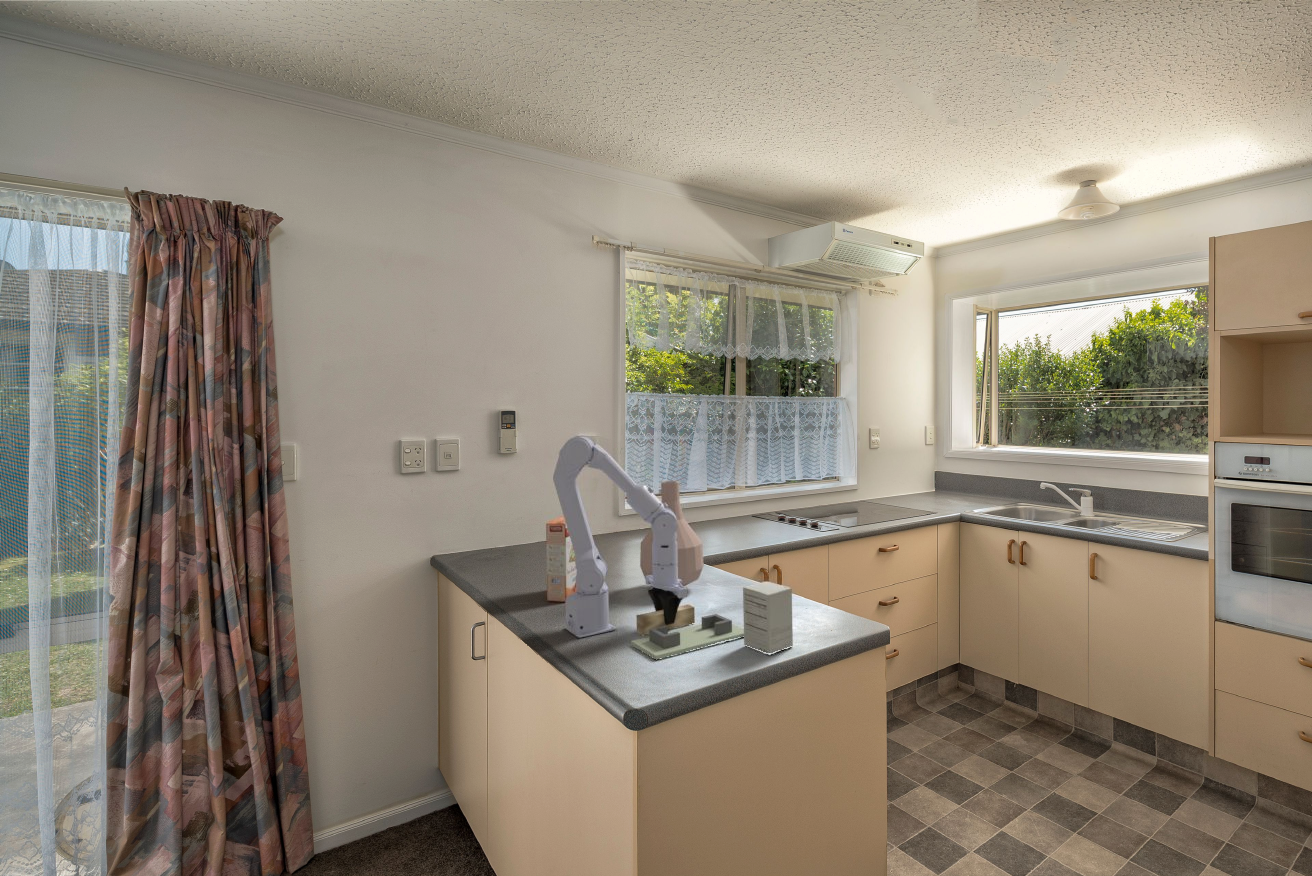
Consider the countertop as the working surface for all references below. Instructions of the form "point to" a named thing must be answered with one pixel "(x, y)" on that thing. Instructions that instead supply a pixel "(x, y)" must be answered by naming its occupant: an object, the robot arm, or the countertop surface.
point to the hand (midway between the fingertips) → (666, 621)
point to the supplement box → (767, 616)
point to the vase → (686, 540)
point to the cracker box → (559, 561)
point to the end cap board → (687, 637)
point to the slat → (657, 619)
